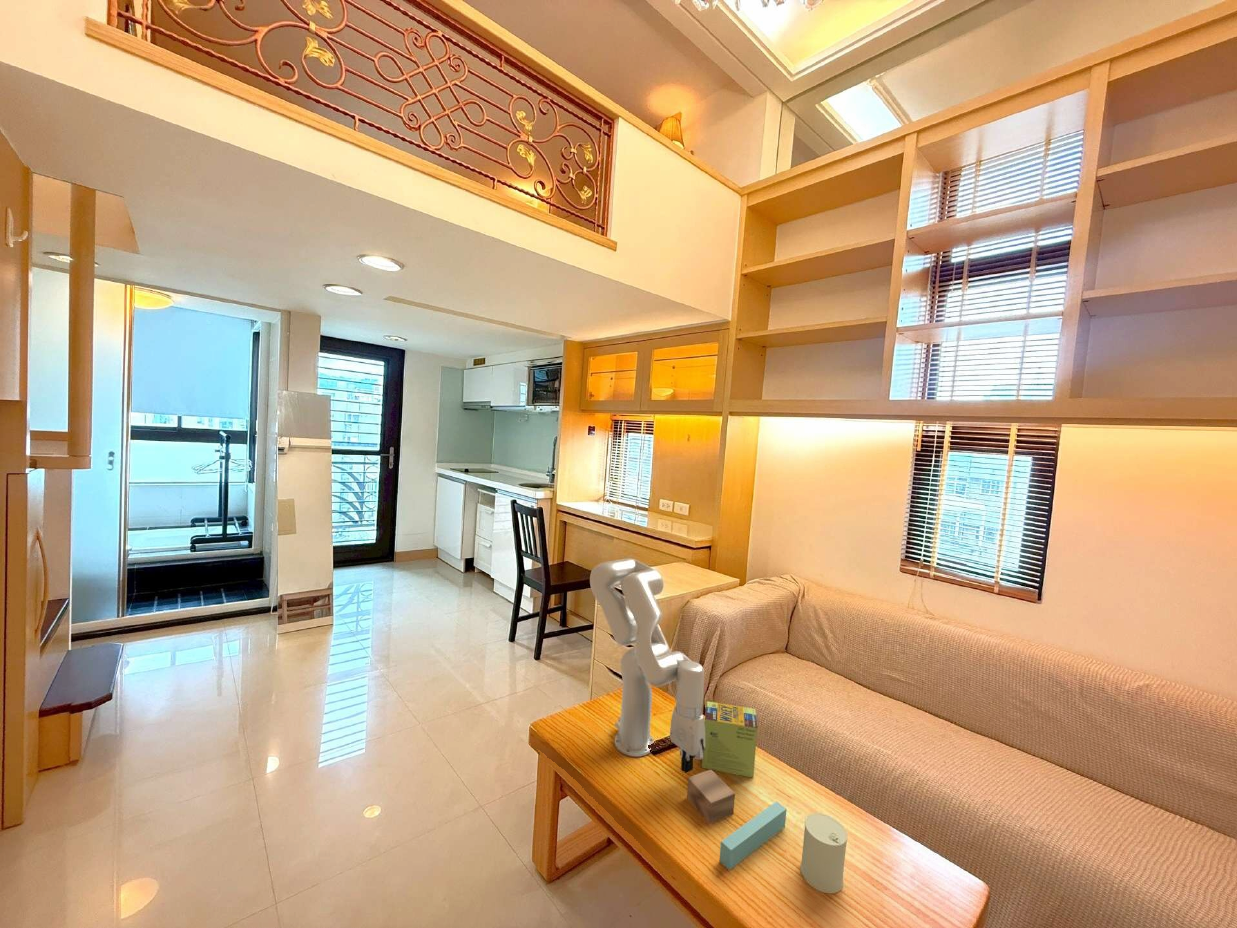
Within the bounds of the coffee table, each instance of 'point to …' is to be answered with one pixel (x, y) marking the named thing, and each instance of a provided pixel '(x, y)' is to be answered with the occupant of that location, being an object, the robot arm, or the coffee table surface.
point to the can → (823, 853)
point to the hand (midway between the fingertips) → (686, 769)
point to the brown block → (710, 796)
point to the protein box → (730, 739)
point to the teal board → (752, 835)
